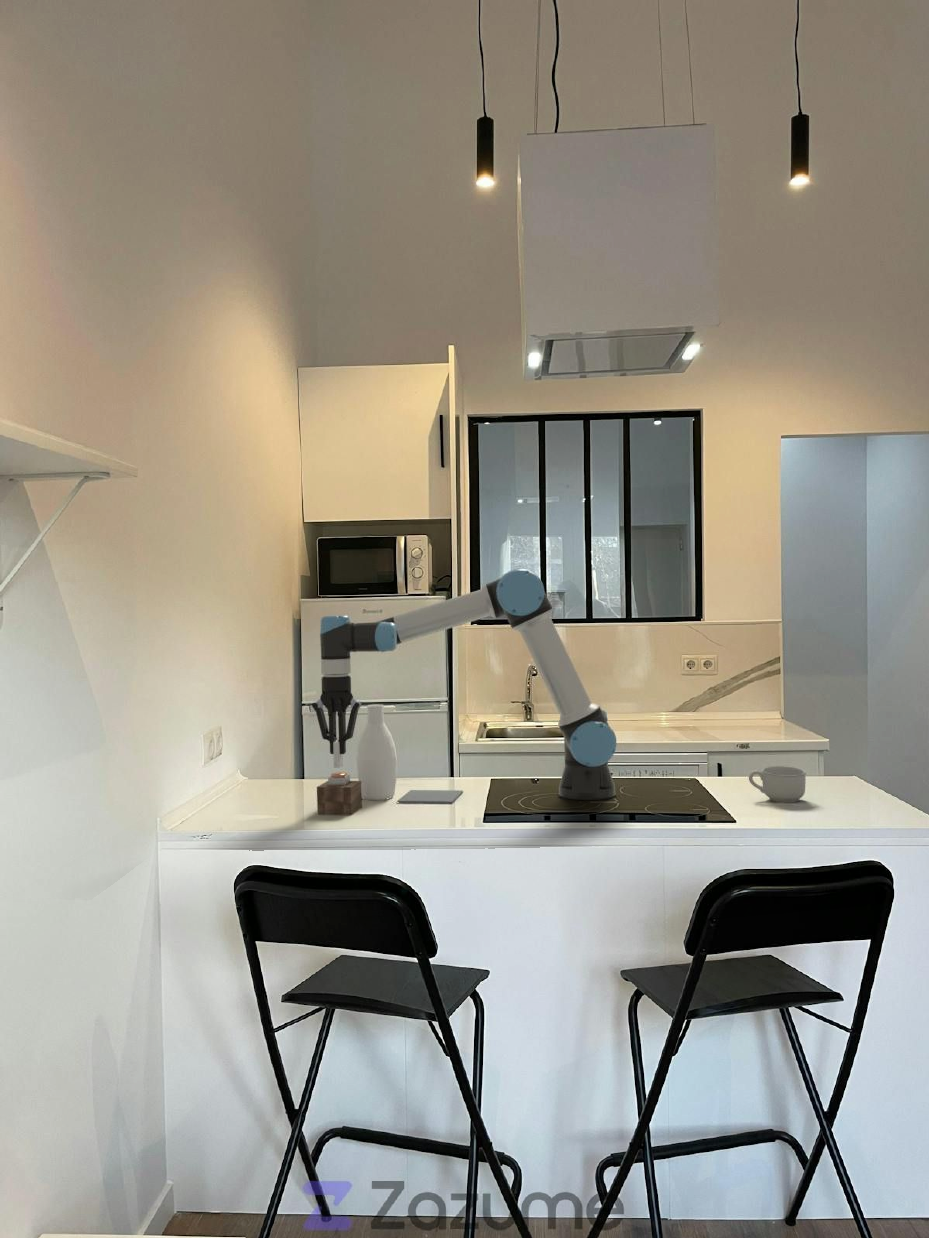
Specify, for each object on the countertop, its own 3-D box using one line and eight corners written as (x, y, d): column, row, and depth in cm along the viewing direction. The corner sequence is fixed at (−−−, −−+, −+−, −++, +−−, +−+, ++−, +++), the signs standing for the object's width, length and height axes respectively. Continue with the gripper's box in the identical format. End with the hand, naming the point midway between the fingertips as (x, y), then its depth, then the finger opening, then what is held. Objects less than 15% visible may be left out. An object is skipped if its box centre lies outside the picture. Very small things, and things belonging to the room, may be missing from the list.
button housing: (361, 807, 251) (361, 780, 251) (351, 814, 242) (350, 787, 242) (329, 806, 253) (328, 780, 252) (317, 814, 244) (316, 786, 244)
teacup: (808, 797, 248) (807, 766, 248) (804, 806, 238) (803, 774, 238) (753, 794, 254) (752, 764, 254) (746, 802, 244) (746, 771, 244)
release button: (350, 793, 249) (349, 772, 249) (345, 797, 245) (344, 775, 245) (334, 793, 250) (333, 772, 250) (328, 797, 245) (328, 775, 245)
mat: (463, 792, 267) (463, 790, 267) (452, 803, 252) (452, 801, 252) (410, 792, 270) (410, 789, 270) (397, 803, 255) (397, 800, 255)
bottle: (349, 798, 263) (346, 706, 262) (375, 791, 272) (372, 702, 271) (380, 802, 256) (377, 707, 256) (406, 795, 265) (403, 703, 265)
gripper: (364, 674, 249) (366, 764, 250) (316, 674, 252) (319, 764, 252) (356, 676, 242) (358, 769, 242) (307, 676, 244) (309, 768, 245)
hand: (338, 766), depth 247 cm, fingers closed
